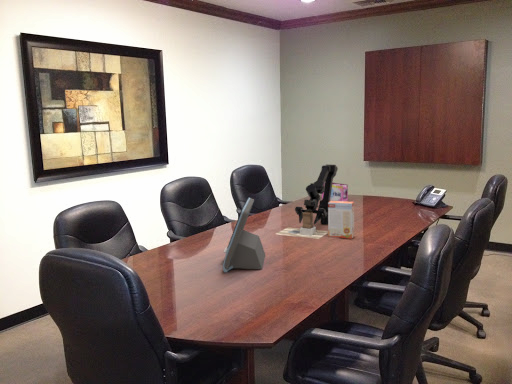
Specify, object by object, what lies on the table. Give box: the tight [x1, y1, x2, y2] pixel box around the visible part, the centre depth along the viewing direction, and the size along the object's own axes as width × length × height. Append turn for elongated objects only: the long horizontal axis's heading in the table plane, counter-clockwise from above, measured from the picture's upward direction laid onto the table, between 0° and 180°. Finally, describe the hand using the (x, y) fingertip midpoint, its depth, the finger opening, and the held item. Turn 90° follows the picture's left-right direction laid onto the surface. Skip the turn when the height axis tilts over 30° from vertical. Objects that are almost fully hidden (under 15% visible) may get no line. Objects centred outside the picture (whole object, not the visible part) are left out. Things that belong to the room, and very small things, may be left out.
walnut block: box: [302, 212, 314, 229], centre depth 285 cm, size 4×4×13 cm
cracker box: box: [327, 200, 355, 240], centre depth 278 cm, size 14×6×21 cm, turn 65°
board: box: [275, 227, 328, 240], centre depth 289 cm, size 18×28×1 cm, turn 62°
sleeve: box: [299, 225, 317, 236], centre depth 286 cm, size 7×7×4 cm
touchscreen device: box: [222, 197, 266, 273], centre depth 236 cm, size 35×20×30 cm, turn 175°
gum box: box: [321, 182, 349, 202], centre depth 394 cm, size 24×8×14 cm, turn 37°
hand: (306, 223), depth 284 cm, fingers open, 9 cm apart
